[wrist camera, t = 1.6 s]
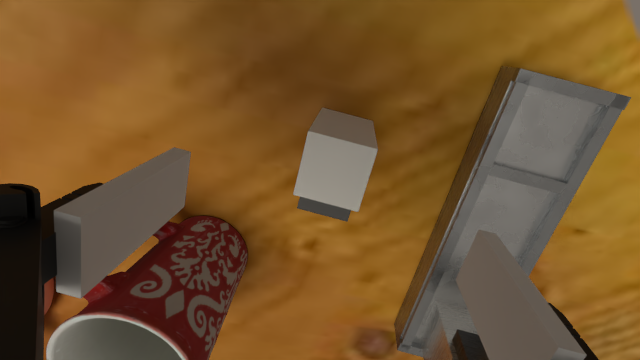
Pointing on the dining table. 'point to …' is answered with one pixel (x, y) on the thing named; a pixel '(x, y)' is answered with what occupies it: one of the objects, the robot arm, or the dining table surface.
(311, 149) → the small grey block
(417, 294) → the rail
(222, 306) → the mug
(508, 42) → the dining table surface
